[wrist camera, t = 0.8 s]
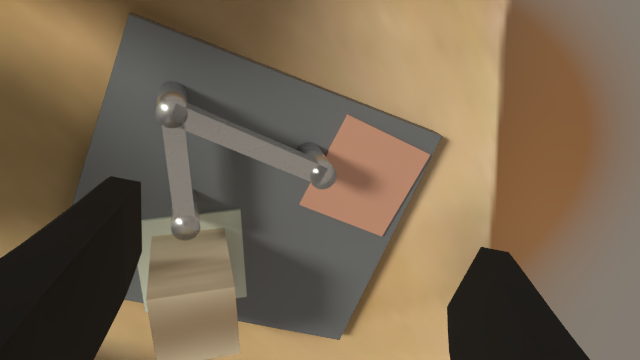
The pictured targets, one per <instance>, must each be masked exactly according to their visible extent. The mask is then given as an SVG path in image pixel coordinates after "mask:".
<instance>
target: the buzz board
mask: <svg viewBox="0 0 640 360" xmlns="http://www.w3.org/2000/svg"><path fill="white" fill-rule="evenodd" d="M169 81H174V82H177V83H179V84H181V85H182V86H183V87H184V89H185V91H186V96H187V103H189V104H191V105H193V106H196V107H198V108H200V109H203V110H205V111H207V112H210V113H212V114H214V115H216V116H219V117H221V118H223V119H226V120H228V121H230V122H233V123H235V124H237V125H240V126H242V127H244V128H247V129H249V130H251V131H254V132H256V133H258V134H261V135H263V136H265V137H267V138H270V139H272V140H274V141H277V142H279V143H281V144H284V145H286V146H288V147H291V148H293V149H295V150H297V149H298V147H299V146H300V145H301V144H303V143H305V142H312V143H315V144H316V145H317V146H318V147H319V149H320V150H321V151H322V153H323V154H324V155H325V157H326V158H327V159H328V161H329V162H330V163H331V165H332V166H333V167H334V169H335V170H336V173H337V178H336V181H335V183H334V184H333V185H332V186H331V187H329V188H327V189H317V188H315V187H314V186H313V185H312V183H311V182H310V181H307V180H305V179H303V178H300V177H298V176H295V175H293V174H290V173H288V172H285V171H283V170H281V169H278V168H276V167H273V166H271V165H268V164H266V163H263V162H261V161H259V160H256V159H254V158H251V157H249V156H246V155H244V154H241V153H239V152H237V151H234V150H232V149H229V148H227V147H224V146H222V145H219V144H217V143H215V142H212V141H210V140H207V139H205V138H202V137H200V136H197V135H195V134H192V133H190V132H188V131H186V138H187V147H188V156H189V165H190V174H191V182H192V189H193V190H194V191H195V192H196V193H197V196H198V206H199V217H200V230H208V229H217V228H224V229H225V235H226V241H227V246H228V252H229V257H230V263H231V269H232V274H233V280H234V286H235V296H236V308H237V320H238V321H241V322H247V323H252V324H257V325H263V326H268V327H273V328H278V329H284V330H289V331H294V332H300V333H305V334H310V335H316V336H321V337H326V338H332V339H337V340H340V338H341V336H342V334H343V332H344V330H345V328H346V326H347V324H348V322H349V320H350V318H351V316H352V314H353V312H354V310H355V308H356V306H357V304H358V302H359V300H360V298H361V296H362V294H363V292H364V290H365V288H366V286H367V284H368V282H369V280H370V278H371V276H372V274H373V272H374V270H375V268H376V266H377V264H378V262H379V260H380V258H381V256H382V254H383V252H384V250H385V248H386V246H387V244H388V242H389V241H390V239H391V237H392V235H393V233H394V231H395V229H396V227H397V225H398V223H399V221H400V219H401V217H402V215H403V213H404V211H405V209H406V207H407V205H408V203H409V201H410V199H411V197H412V195H413V193H414V191H415V189H416V187H417V185H418V183H419V181H420V179H421V177H422V175H423V173H424V171H425V169H426V167H427V165H428V163H429V161H430V159H431V157H432V155H433V153H434V151H435V149H436V147H437V145H438V143H439V141H440V139H441V137H442V136H441V135H439V134H438V133H436V132H435V131H432V130H430V129H427V128H425V127H422V126H420V125H417V124H415V123H412V122H409V121H407V120H404V119H402V118H399V117H397V116H394V115H392V114H389V113H386V112H384V111H381V110H379V109H376V108H374V107H371V106H368V105H366V104H363V103H361V102H358V101H356V100H353V99H351V98H348V97H345V96H343V95H340V94H338V93H335V92H333V91H330V90H328V89H325V88H322V87H320V86H317V85H315V84H312V83H310V82H307V81H305V80H302V79H299V78H297V77H294V76H292V75H289V74H287V73H284V72H282V71H279V70H276V69H274V68H271V67H269V66H266V65H264V64H261V63H259V62H256V61H253V60H251V59H248V58H246V57H243V56H241V55H238V54H236V53H233V52H230V51H228V50H225V49H223V48H220V47H218V46H215V45H212V44H210V43H207V42H205V41H202V40H200V39H197V38H195V37H192V36H189V35H187V34H184V33H182V32H179V31H177V30H174V29H172V28H169V27H166V26H164V25H161V24H159V23H156V22H154V21H151V20H149V19H146V18H143V17H141V16H138V15H136V14H133V13H130V14H129V16H128V20H127V23H126V26H125V30H124V33H123V36H122V40H121V43H120V46H119V50H118V53H117V56H116V60H115V63H114V66H113V70H112V73H111V76H110V80H109V83H108V86H107V90H106V93H105V96H104V100H103V103H102V106H101V110H100V113H99V117H98V120H97V123H96V127H95V130H94V133H93V137H92V140H91V143H90V147H89V150H88V153H87V157H86V160H85V163H84V167H83V170H82V173H81V177H80V180H79V183H78V187H77V190H76V193H75V197H74V200H73V203H72V205H74V204H75V203H76V202H77V201H79V200H80V199H81V198H82V197H84V196H85V195H86V194H87V193H89V192H90V191H91V190H92V189H94V188H95V187H96V186H97V185H99V184H100V183H101V182H103V181H104V180H105V179H107V178H108V177H110V176H113V177H118V178H123V179H129V180H134V181H139V182H141V215H142V253H141V256H140V259H139V262H138V265H137V267H136V270H135V273H134V276H133V279H132V281H131V284H130V287H129V289H128V292H127V295H126V297H125V299H124V300H130V301H135V302H140V303H144V307H145V312H148V308H147V302H146V296H147V285H148V273H149V262H150V250H151V239H152V236H159V235H167V234H172V231H171V207H172V200H171V192H170V185H169V177H168V170H167V162H166V155H165V147H164V139H163V132H162V125H161V124H160V123H159V122H158V120H157V118H156V115H155V111H156V103H157V96H158V90H159V88H160V86H161V85H162V84H164V83H166V82H169Z"/></svg>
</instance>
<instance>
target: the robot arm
mask: <svg viewBox="0 0 640 360" xmlns="http://www.w3.org/2000/svg"><path fill="white" fill-rule="evenodd" d="M141 253H142V215H141V182H139V181H134V180H129V179H123V178H118V177H113V176H110V177H108V178H107V179H105V180H104V181H103V182H101V183H100V184H99V185H97V186H96V187H95V188H94V189H92V190H91V191H90V192H89V193H87V194H86V195H85V196H84V197H82V198H81V199H80V200H79V201H77V202H76V203H75V204H74V205H72V206H71V207H70V208H69V209H67V210H66V211H65V212H63V213H62V214H61V215H60V216H58V217H57V218H56V219H54V220H53V221H52V222H50V223H49V224H48V225H46V226H45V227H44V228H42V229H41V230H39V231H38V232H37V233H35V234H34V235H33V236H31V237H30V238H29V239H27V240H26V241H25V242H23V243H22V244H20V245H19V246H18V247H16V248H15V249H13V250H12V251H10V252H9V253H7V254H6V255H4V256H3V257H1V258H0V360H94V358H95V356H96V354H97V352H98V350H99V348H100V346H101V344H102V342H103V340H104V338H105V336H106V335H107V333H108V331H109V329H110V327H111V325H112V323H113V321H114V319H115V317H116V315H117V313H118V311H119V309H120V307H121V305H122V303H123V301H124V299H125V297H126V295H127V292H128V289H129V287H130V284H131V281H132V279H133V276H134V273H135V270H136V267H137V265H138V262H139V259H140V256H141ZM447 314H448V339H449V353H450V359H451V360H590V359H589V358H588V357H587V355H586V354H585V353H584V352H583V350H582V349H581V348H580V347H579V345H578V344H577V343H576V341H575V340H574V339H573V338H572V337H571V335H570V334H569V333H568V331H567V330H566V329H565V327H564V326H563V325H562V323H561V322H560V321H559V319H558V318H557V317H556V315H555V314H554V313H553V311H552V310H551V309H550V307H549V306H548V305H547V303H546V302H545V301H544V299H543V298H542V296H541V295H540V294H539V292H538V291H537V290H536V288H535V287H534V285H533V284H532V283H531V281H530V280H529V279H528V277H527V276H526V275H525V273H524V272H523V271H522V269H521V268H520V266H519V265H518V264H517V263H516V261H515V260H514V259H513V257H512V256H511V255H510V254H509V252H504V251H499V250H494V249H489V248H484V247H481V248H480V250H479V252H478V253H477V255H476V257H475V259H474V260H473V262H472V264H471V266H470V268H469V269H468V271H467V273H466V275H465V276H464V278H463V280H462V282H461V283H460V285H459V287H458V289H457V290H456V292H455V294H454V296H453V298H452V299H451V301H450V303H449V305H448V306H447Z"/></svg>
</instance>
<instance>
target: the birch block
mask: <svg viewBox="0 0 640 360" xmlns="http://www.w3.org/2000/svg"><path fill="white" fill-rule="evenodd" d="M146 302H147V308H148V314H149V320H150V326H151V332H152V338H153V344H154V350H155V356H156V360H206V359H211V358H217V357H223V356H228V355H234V354H239V353H240V343H239V332H238V320H237V308H236V296H235V286H234V280H233V274H232V269H231V263H230V257H229V252H228V246H227V241H226V235H225V229H224V228H217V229H208V230H200V232H199V234H198V235H197V236H196V237H195V238H193V239H191V240H186V241H185V240H179V239H177V238H176V237H175V236H174V235H173V234H167V235H159V236H152V239H151V250H150V262H149V273H148V285H147V296H146Z"/></svg>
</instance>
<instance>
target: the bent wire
mask: <svg viewBox="0 0 640 360" xmlns="http://www.w3.org/2000/svg"><path fill="white" fill-rule="evenodd" d="M155 115H156V118H157V120H158V122H159V123H160V124H161V125H162V132H163V139H164V147H165V155H166V162H167V170H168V177H169V185H170V192H171V200H172V207H171V231H172V234H173V235H174V236H175V237H176V238H177V239H179V240H185V241H186V240H191V239H193V238H195V237H196V236H197V235H198V234H199V232H200V217H199V206H198V196H197V193H196V192H195V191H194V190H193V189H192V182H191V174H190V165H189V156H188V147H187V138H186V131H188V132H190V133H192V134H195V135H197V136H200V137H202V138H205V139H207V140H210V141H212V142H215V143H217V144H219V145H222V146H224V147H227V148H229V149H232V150H234V151H237V152H239V153H241V154H244V155H246V156H249V157H251V158H254V159H256V160H259V161H261V162H263V163H266V164H268V165H271V166H273V167H276V168H278V169H281V170H283V171H285V172H288V173H290V174H293V175H295V176H298V177H300V178H303V179H305V180H307V181H310V182H311V183H312V185H313V186H314V187H315V188H317V189H327V188H329V187H331V186H332V185H333V184H334V183H335V181H336V178H337V173H336V170H335V169H334V167H333V166H332V165H331V163H330V162H329V161H328V159H327V158H326V157H325V155H324V154H323V153H322V151H321V150H320V149H319V147H318V146H317V145H316V144H315V143H312V142H305V143H303V144H301V145H300V146H299V147H298V149H297V150H295V149H293V148H291V147H288V146H286V145H284V144H281V143H279V142H277V141H274V140H272V139H270V138H267V137H265V136H263V135H261V134H258V133H256V132H254V131H251V130H249V129H247V128H244V127H242V126H240V125H237V124H235V123H233V122H230V121H228V120H226V119H223V118H221V117H219V116H216V115H214V114H212V113H210V112H207V111H205V110H203V109H200V108H198V107H196V106H193V105H191V104H189V103H187V96H186V91H185V89H184V87H183V86H182V85H181V84H179V83H177V82H174V81H169V82H166V83H164V84H162V85H161V86H160V88H159V90H158V96H157V103H156V111H155Z"/></svg>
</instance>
